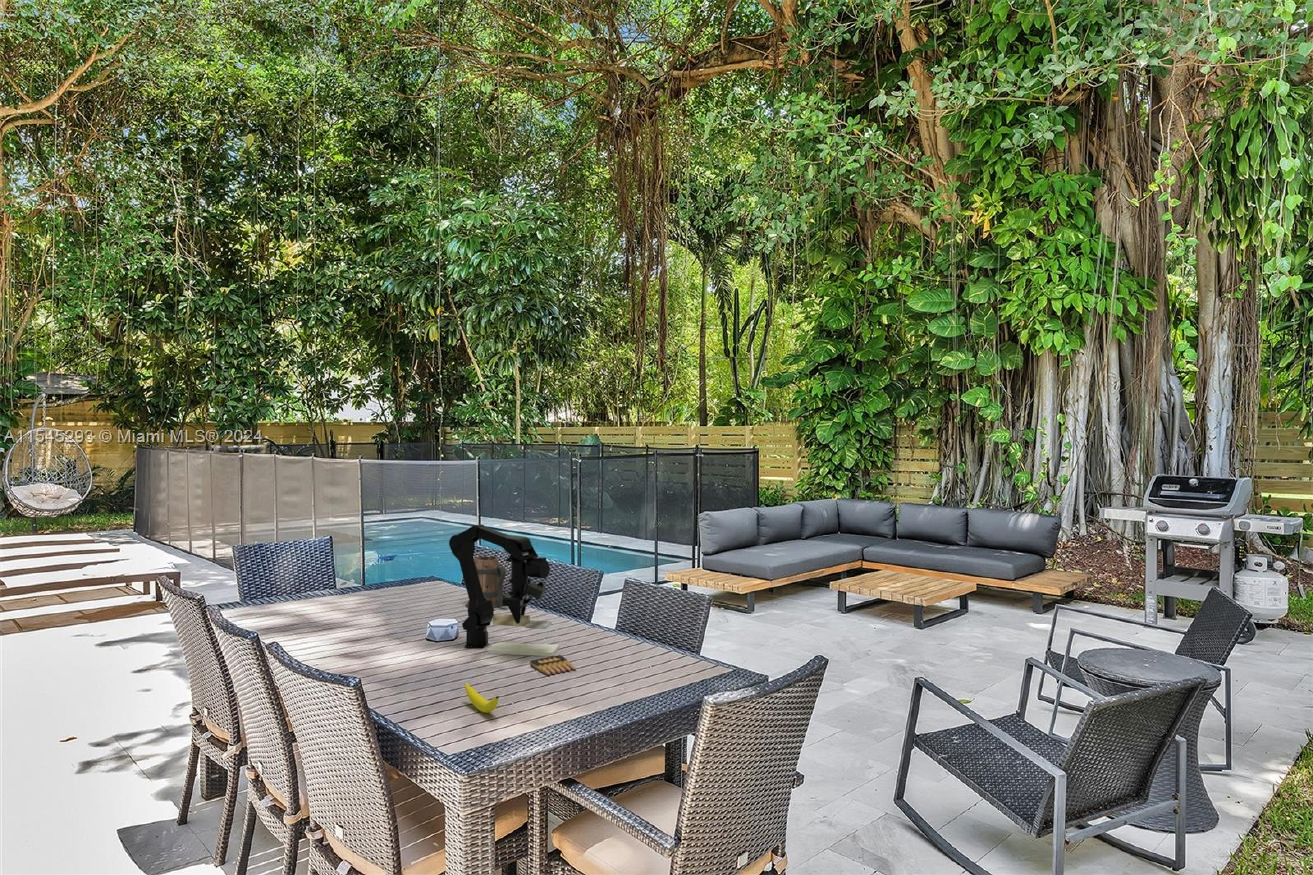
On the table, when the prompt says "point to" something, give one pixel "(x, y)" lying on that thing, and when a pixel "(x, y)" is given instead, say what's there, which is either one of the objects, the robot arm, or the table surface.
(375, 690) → the table surface
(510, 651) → the board
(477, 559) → the tankard
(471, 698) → the banana
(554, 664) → the ammunition clip
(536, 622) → the turner
